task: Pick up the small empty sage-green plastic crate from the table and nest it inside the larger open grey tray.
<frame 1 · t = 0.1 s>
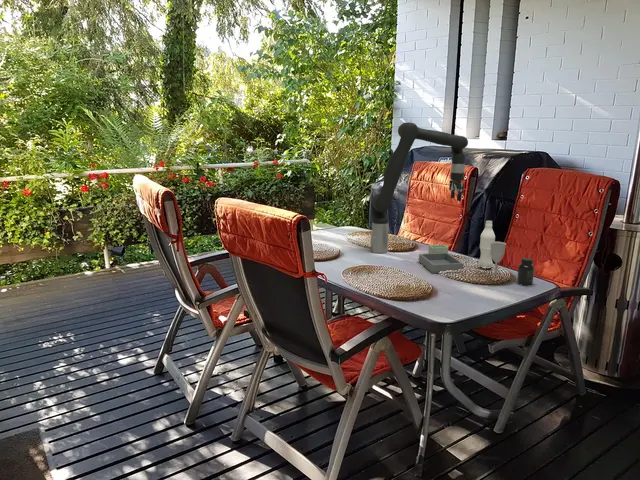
hand: (455, 199, 283), 29 cm above the table, tool pointing down, fingers open, 8 cm apart
grey tray: (440, 266, 255), on the table
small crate: (437, 255, 275), on the table
water bottle: (485, 268, 252), on the table
supplement bottle: (524, 283, 230), on the table
chalice: (494, 279, 236), on the table
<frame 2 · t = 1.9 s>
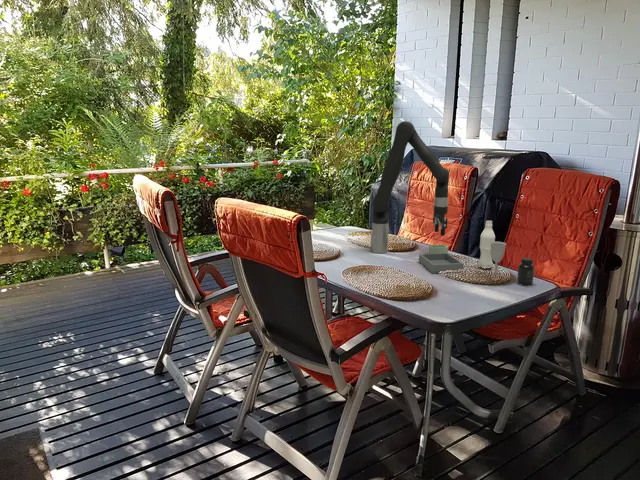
hand: (439, 233, 272), 13 cm above the table, tool pointing down, fingers open, 8 cm apart
nothing on the table moved.
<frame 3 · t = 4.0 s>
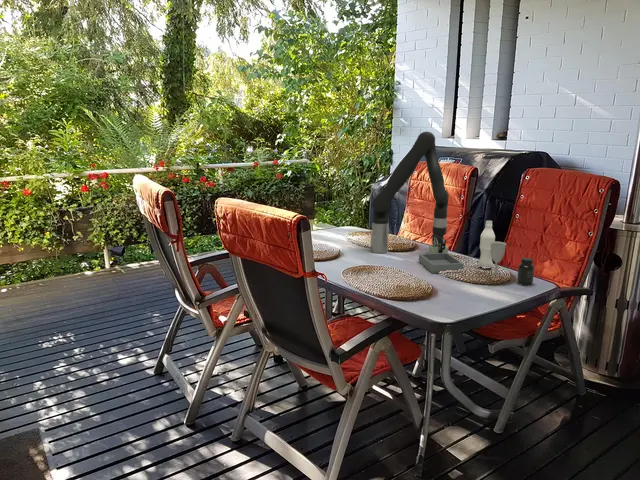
hand: (438, 254, 275), 1 cm above the table, tool pointing down, fingers closed on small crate, 6 cm apart
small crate: (437, 255, 275), on the table, touching gripper
everything else where it was.
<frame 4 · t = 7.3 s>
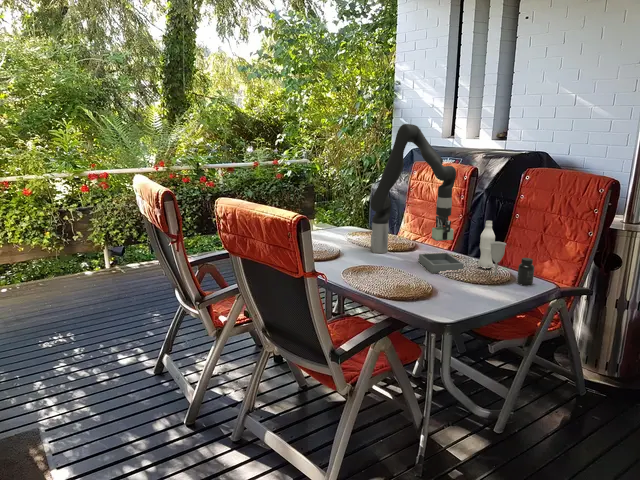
hand: (442, 237, 251), 16 cm above the table, tool pointing down, fingers closed on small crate, 6 cm apart
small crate: (442, 239, 251), point 15 cm above the table, touching gripper
everything else where it was.
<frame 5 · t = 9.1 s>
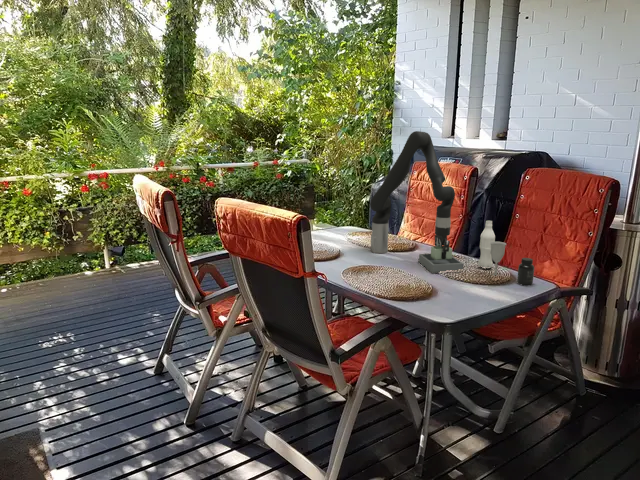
hand: (441, 256, 253), 5 cm above the table, tool pointing down, fingers closed on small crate, 6 cm apart
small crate: (441, 258, 254), point 5 cm above the table, touching gripper
everything else where it was.
when the fingers open (3 cm above the table, at t = 10.6 s): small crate drops 1 cm, resting on grey tray.
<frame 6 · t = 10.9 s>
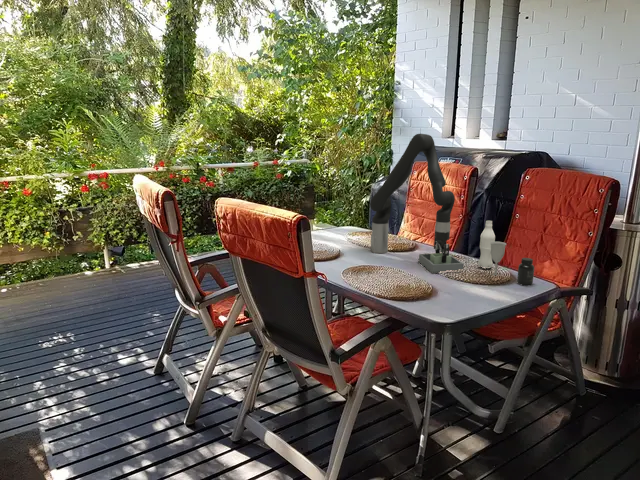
hand: (440, 260, 254), 4 cm above the table, tool pointing down, fingers open, 8 cm apart
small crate: (440, 265, 255), point 1 cm above the table, touching grey tray
everything else where it was.
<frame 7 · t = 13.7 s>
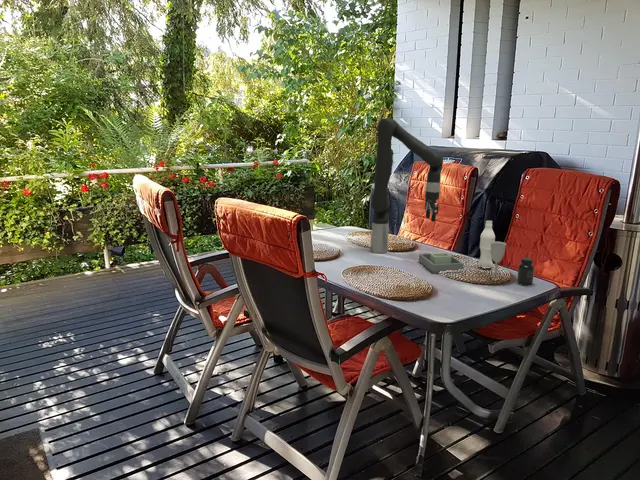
hand: (430, 219, 266), 21 cm above the table, tool pointing down, fingers open, 8 cm apart
nothing on the table moved.
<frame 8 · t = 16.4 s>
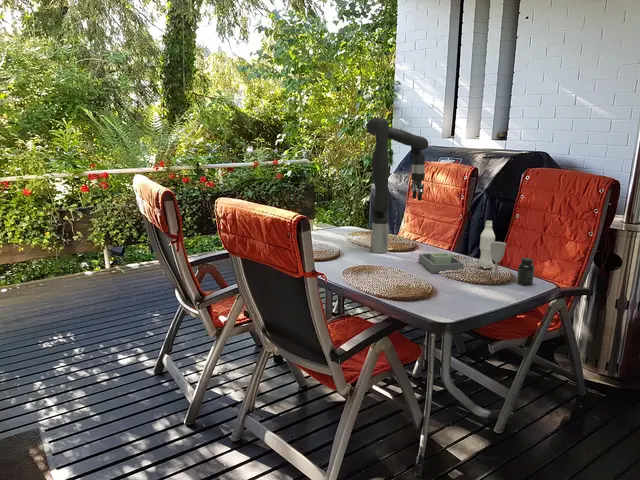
hand: (416, 199, 290), 28 cm above the table, tool pointing down, fingers open, 8 cm apart
nothing on the table moved.
at the end: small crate inside the target area on the grey tray (0.1 cm from its centre), point 1.0 cm above the grey tray's base; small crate tilted 0°; the gripper is holding nothing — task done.
